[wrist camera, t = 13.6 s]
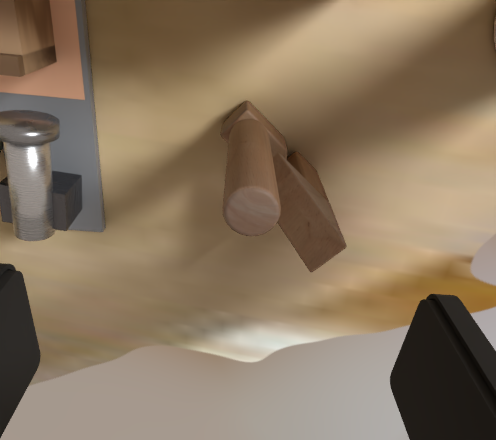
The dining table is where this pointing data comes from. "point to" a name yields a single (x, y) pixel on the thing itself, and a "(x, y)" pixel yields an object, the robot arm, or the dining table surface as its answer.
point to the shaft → (35, 177)
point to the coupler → (25, 36)
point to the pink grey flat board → (66, 107)
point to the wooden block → (276, 189)
